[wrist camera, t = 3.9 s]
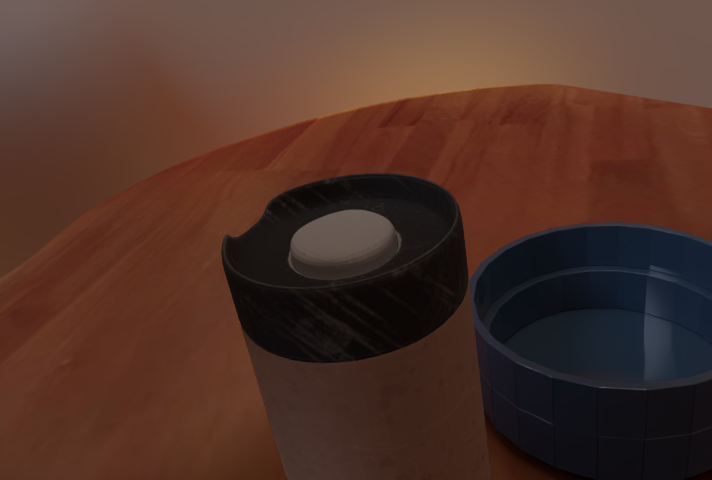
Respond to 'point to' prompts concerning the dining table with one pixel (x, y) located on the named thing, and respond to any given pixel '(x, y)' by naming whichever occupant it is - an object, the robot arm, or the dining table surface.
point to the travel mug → (363, 330)
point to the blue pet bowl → (600, 349)
